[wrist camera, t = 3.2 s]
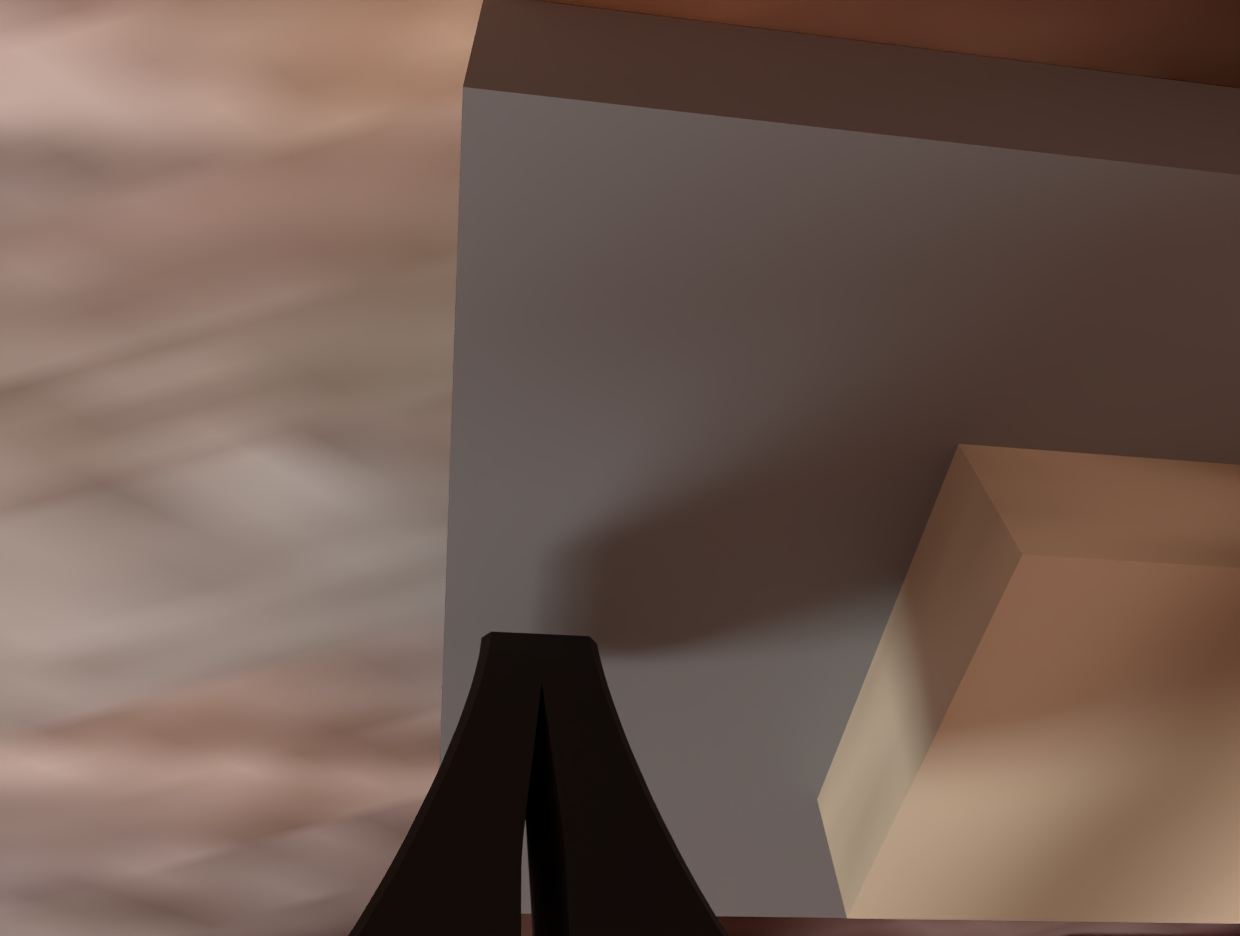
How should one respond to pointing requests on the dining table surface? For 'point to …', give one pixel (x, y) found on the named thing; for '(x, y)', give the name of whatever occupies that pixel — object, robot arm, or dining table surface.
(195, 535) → the dining table surface
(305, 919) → the dining table surface
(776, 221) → the grey flat block
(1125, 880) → the tile
